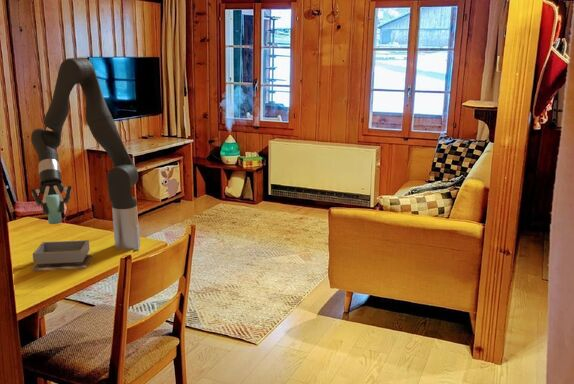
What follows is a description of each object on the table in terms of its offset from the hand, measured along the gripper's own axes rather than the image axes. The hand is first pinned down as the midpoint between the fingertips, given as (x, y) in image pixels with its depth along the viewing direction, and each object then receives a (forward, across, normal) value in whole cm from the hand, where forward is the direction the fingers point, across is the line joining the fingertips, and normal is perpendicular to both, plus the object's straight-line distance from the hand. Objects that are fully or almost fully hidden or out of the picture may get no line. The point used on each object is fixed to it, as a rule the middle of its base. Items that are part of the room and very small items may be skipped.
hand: (54, 212), depth 189 cm
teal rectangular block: (+2, 0, +4) cm, 5 cm away
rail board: (+18, +1, +8) cm, 19 cm away
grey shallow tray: (+17, +1, +7) cm, 19 cm away
